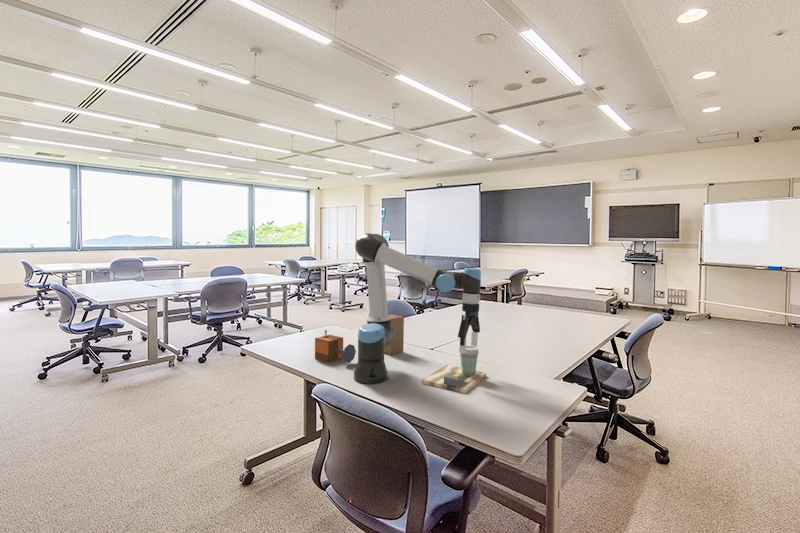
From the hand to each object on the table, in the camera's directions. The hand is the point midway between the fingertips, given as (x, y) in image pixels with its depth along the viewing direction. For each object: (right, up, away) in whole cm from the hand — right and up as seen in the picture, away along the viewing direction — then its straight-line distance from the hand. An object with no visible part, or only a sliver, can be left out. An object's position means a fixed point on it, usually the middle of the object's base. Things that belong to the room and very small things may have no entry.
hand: (468, 349), depth 175 cm
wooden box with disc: (-64, -11, +23) cm, 69 cm away
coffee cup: (0, -12, 0) cm, 12 cm away
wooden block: (-36, -10, +40) cm, 55 cm away
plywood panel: (-7, -13, -3) cm, 15 cm away
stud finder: (-8, -12, -11) cm, 18 cm away
